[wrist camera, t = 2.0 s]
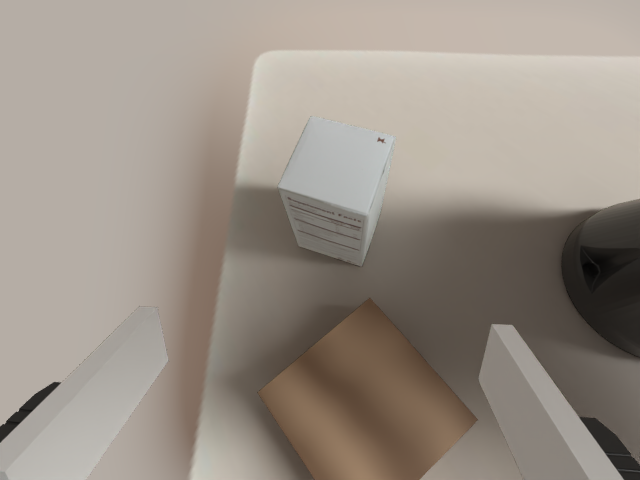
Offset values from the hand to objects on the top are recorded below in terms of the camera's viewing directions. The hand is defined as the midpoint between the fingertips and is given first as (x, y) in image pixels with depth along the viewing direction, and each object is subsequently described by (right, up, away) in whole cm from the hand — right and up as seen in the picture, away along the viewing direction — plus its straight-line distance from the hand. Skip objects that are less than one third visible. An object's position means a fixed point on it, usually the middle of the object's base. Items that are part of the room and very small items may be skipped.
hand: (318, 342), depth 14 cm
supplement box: (+2, +5, +24) cm, 24 cm away
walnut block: (+4, -11, +17) cm, 21 cm away
